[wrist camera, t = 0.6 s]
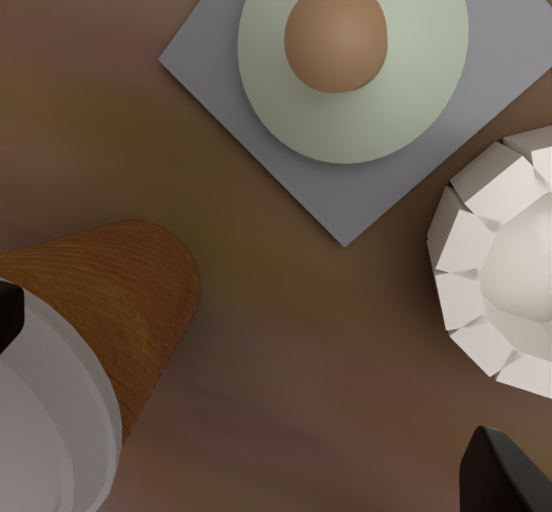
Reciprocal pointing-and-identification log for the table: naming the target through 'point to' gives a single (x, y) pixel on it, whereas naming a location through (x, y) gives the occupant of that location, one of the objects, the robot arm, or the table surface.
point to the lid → (350, 71)
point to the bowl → (500, 260)
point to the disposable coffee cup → (86, 358)
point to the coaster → (386, 170)
